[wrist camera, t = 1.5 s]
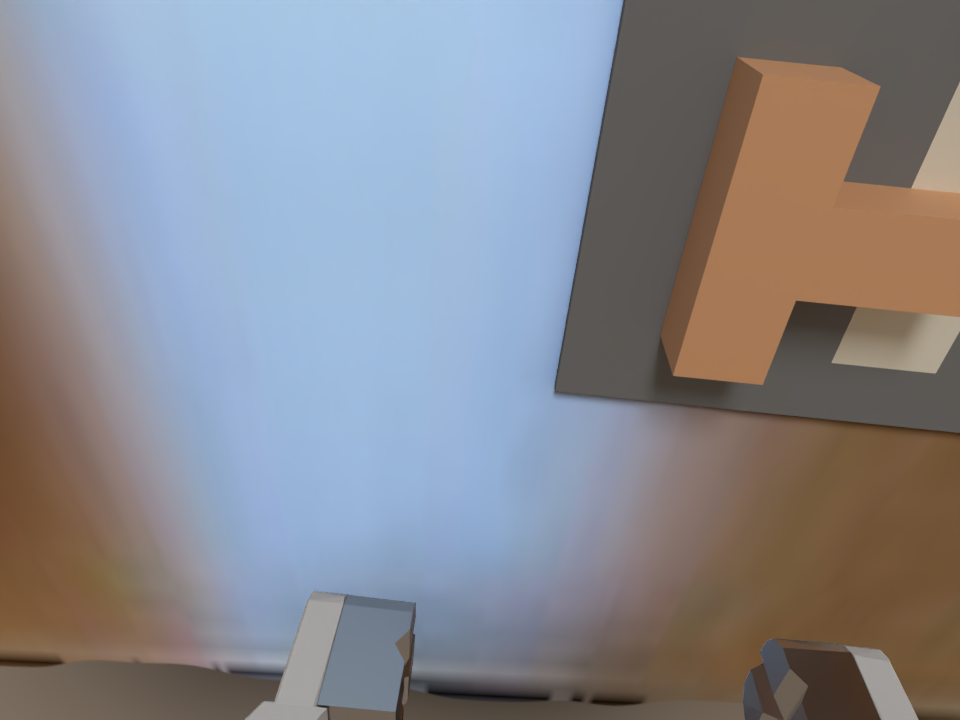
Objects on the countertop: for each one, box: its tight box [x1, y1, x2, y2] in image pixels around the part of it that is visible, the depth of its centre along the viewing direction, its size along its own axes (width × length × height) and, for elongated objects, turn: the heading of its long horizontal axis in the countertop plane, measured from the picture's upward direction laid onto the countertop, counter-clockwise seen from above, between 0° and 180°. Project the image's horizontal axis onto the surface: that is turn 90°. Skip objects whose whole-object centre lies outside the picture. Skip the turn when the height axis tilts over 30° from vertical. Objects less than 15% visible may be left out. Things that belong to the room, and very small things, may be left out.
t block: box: [660, 57, 960, 385], centre depth 24 cm, size 10×11×3 cm
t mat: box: [555, 0, 960, 433], centre depth 25 cm, size 25×18×1 cm
